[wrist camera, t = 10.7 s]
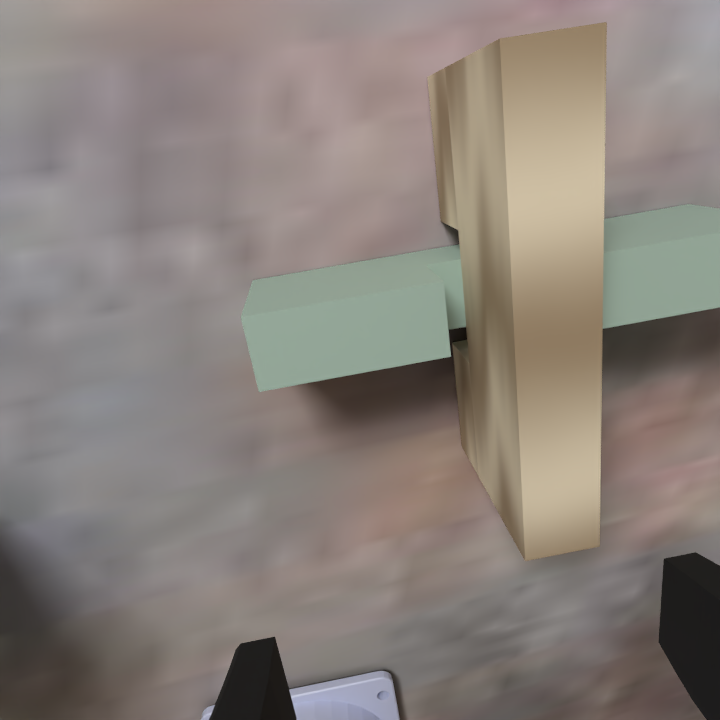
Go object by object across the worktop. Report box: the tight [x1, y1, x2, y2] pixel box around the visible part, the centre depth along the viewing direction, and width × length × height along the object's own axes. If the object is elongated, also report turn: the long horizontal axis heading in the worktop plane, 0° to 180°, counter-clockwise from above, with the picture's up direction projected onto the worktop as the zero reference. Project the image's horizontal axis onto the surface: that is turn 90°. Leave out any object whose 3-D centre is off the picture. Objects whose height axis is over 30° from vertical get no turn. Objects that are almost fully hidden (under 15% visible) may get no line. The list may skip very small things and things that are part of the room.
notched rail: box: [241, 204, 720, 392], centre depth 16 cm, size 2×14×4 cm, turn 99°
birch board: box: [427, 22, 607, 561], centre depth 15 cm, size 12×2×6 cm, turn 9°
